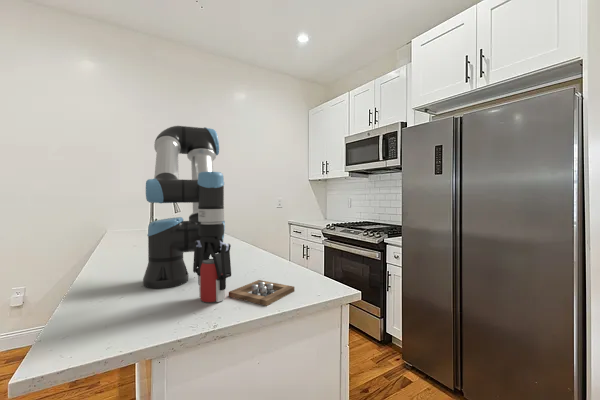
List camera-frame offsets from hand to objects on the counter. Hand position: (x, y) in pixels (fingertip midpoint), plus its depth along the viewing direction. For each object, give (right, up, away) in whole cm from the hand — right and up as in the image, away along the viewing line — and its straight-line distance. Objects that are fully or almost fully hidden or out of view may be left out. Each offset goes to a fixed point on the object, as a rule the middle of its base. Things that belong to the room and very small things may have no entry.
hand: (211, 298), depth 90 cm
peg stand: (+15, 0, +5) cm, 16 cm away
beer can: (0, -1, 0) cm, 1 cm away
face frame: (+15, 0, +5) cm, 16 cm away
